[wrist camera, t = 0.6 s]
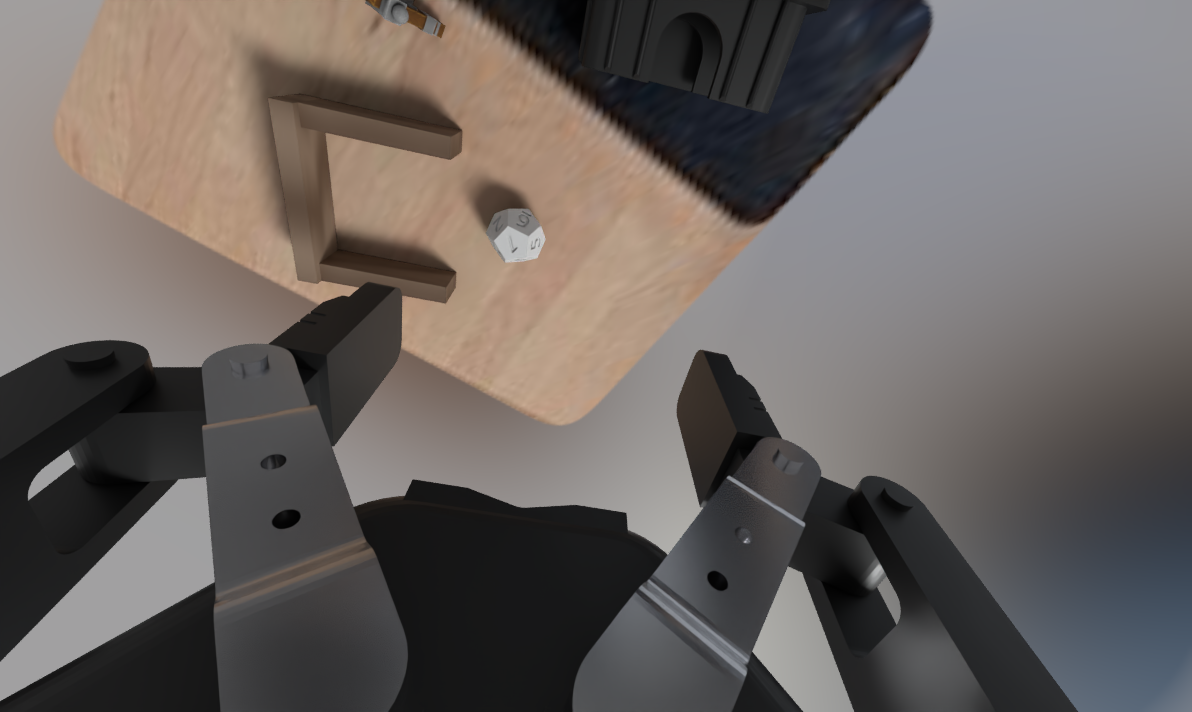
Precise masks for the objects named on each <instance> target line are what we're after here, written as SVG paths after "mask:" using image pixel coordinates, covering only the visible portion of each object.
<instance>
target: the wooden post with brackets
mask: <svg viewBox="0 0 1192 712" xmlns="http://www.w3.org/2000/svg"><path fill="white" fill-rule="evenodd" d="M365 3H366V4H367V5H369V6H371V7H372V8H373V9H374V10H376V11H377V12H378V13H379V14H381V15H382V16H383V18H384V19H385V20H388V21H390V22H392V23H395V24H397V25H399V26H401V24H405V23H406V22H408V23H411V24H413V25H415V26H417V27H418V28H419V29H421V30H422V31H423V32H426V33H428V34H430V35H433V34H434V35H435V36H438V37H440V38H441V37H442V34H443V31H444V28H445V25H443V24H442V23H441V22H439V21H438V20H436V19H434V18H433V17H431V16H430V15H429V14H427V13H425V12H423V11H421V10H419V9H418V11H417V7H415V6H413V3H414V0H366V2H365Z"/></svg>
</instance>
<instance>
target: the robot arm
mask: <svg viewBox="0 0 1192 712" xmlns="http://www.w3.org/2000/svg"><path fill="white" fill-rule="evenodd" d="M401 341H402V293H401V290H400V288H398V287H393V286H388V285H383V284H378V283H373V282H367V283H365V284H364V285H363V286H361V287H360V288H359V289H358V290H357V291H355V292H354V293H353V294H352V295H351V296H349V297H348V296H340V297H337V298H334V299H331V300H328V301H325V302H323V303H322V304H320V305H319V306H318V307H317V308H315V309H314V310H312V311H311V314H307V315H306V316H305V317H303V318H302V319H301V320H300V322H297V323H295V324H294V325H293V326H291V327H290V328H289V329H287V330H286V331H285V332H284V333H282V334H281V335H280V336H278V337H277V338H276V339H274V340H273V341H272V342H270V343H269V344H245V345H238V346H233V347H230V348H226V349H223V350H221V351H218V352H216V353H214V354H212V355H211V356H209V357H208V358H207V359H206V360H205V361H204V363H203V365H202V367H159V368H158V367H153V366H152V363H151V359H150V356H149V353H148V351H147V349H145V348H144V347H143V346H141V345H138V344H136V343H132V342H127V341H114V340H106V341H91V342H84V343H79V344H74V345H69V346H66V347H63V348H59V349H56V350H53V351H51V352H49V353H47V354H44V355H42V356H40V357H39V358H36V359H35V360H33V361H31V362H29V363H27V364H25V365H23V366H21V367H19V368H17V369H15V370H13V371H11V372H10V373H7V374H6V375H4V376H2V377H0V661H1V660H2V659H3V658H4V657H5V656H6V655H7V654H8V653H9V652H10V651H11V650H12V649H13V648H14V647H15V646H16V645H17V644H18V643H19V642H20V641H21V640H22V639H23V638H24V637H25V636H26V635H27V634H28V633H29V632H30V631H31V630H32V629H33V628H34V627H35V626H36V625H37V624H38V622H40V621H41V619H42V618H43V617H44V616H45V615H46V614H47V613H48V612H49V611H50V610H51V609H52V608H53V607H54V606H55V605H56V604H57V603H58V602H59V601H60V600H61V599H62V598H63V597H64V596H65V595H66V594H67V593H68V592H69V591H70V590H71V589H72V588H73V587H74V586H75V585H76V584H77V583H78V582H79V581H80V580H81V578H83V577H84V576H85V574H87V573H88V571H89V570H90V569H91V568H92V567H93V566H94V565H95V564H96V563H97V562H98V561H99V560H100V559H101V558H102V557H103V556H104V555H105V554H106V553H107V552H108V551H109V550H110V549H111V548H112V547H113V546H114V545H115V544H116V543H117V542H118V541H119V540H120V539H121V538H122V537H123V536H124V535H125V534H126V533H127V532H128V531H129V529H131V528H132V527H133V526H134V524H136V522H137V521H138V520H139V519H140V518H141V517H142V516H143V515H144V514H145V513H146V512H147V511H148V510H149V509H150V508H151V507H152V506H153V505H154V504H155V503H156V502H157V501H158V500H159V499H160V498H161V497H162V496H163V495H164V494H165V493H166V492H167V491H168V490H169V489H170V488H171V487H172V485H174V484H175V483H176V482H177V480H178V479H187V478H200V477H206V480H207V492H208V504H209V515H210V516H209V517H210V529H211V541H212V553H213V565H214V577H215V582H214V583H212V584H210V585H209V586H207V587H205V588H203V589H201V590H200V591H198V592H196V593H194V594H192V595H191V596H189V597H187V598H185V599H184V600H182V601H180V602H178V603H176V604H174V605H173V606H171V607H169V608H167V609H165V610H164V611H162V612H160V613H158V614H156V615H155V616H153V617H151V618H149V619H147V620H146V621H144V622H142V623H140V624H139V625H137V626H135V627H133V628H131V629H129V630H128V631H126V632H124V633H122V634H121V635H119V636H117V637H115V638H113V639H111V640H110V641H108V642H106V643H104V644H102V645H101V646H99V647H97V648H95V649H93V650H92V651H90V652H88V653H86V654H84V655H83V656H81V657H79V658H77V659H75V660H74V661H72V662H70V663H68V664H67V665H65V666H63V667H61V668H59V669H57V670H56V671H54V672H52V673H50V674H48V675H47V676H45V677H43V678H41V679H39V680H38V681H36V682H34V683H32V684H30V685H29V686H27V687H25V688H23V689H21V690H20V691H18V692H16V693H14V694H12V695H11V696H9V697H7V698H5V699H3V700H2V701H0V712H803V711H802V710H801V708H799V706H798V705H797V704H796V703H795V702H794V700H793V699H792V698H791V697H790V696H789V694H788V693H787V692H786V691H785V690H784V689H783V687H782V686H781V685H780V684H779V683H778V682H777V681H776V679H775V678H774V677H773V676H772V674H771V673H770V672H769V671H768V670H767V669H766V667H765V666H764V665H763V664H762V663H761V662H760V660H759V659H758V658H757V657H756V656H755V655H754V653H753V652H752V650H753V648H754V646H755V643H756V641H757V639H758V636H759V634H760V631H761V629H762V627H763V624H764V622H765V620H766V617H767V615H768V612H769V610H770V608H771V605H772V603H773V601H774V598H775V596H776V593H777V591H778V588H779V586H780V584H781V582H782V579H783V577H784V574H785V572H786V570H787V567H788V566H789V567H791V568H793V569H796V570H798V571H800V572H802V573H803V576H804V579H805V582H806V584H807V587H808V590H809V592H810V594H811V597H812V600H813V603H814V605H815V608H816V611H817V614H818V616H819V619H820V622H821V624H822V627H823V630H824V632H825V635H826V638H827V640H828V643H829V646H830V648H831V651H832V654H833V656H834V659H835V662H836V664H837V667H838V670H839V672H840V675H841V678H842V680H843V683H844V685H845V688H846V691H847V693H848V696H849V699H850V701H851V704H852V707H853V709H854V712H1078V711H1077V710H1076V708H1075V707H1074V706H1073V704H1072V703H1071V702H1070V700H1069V699H1068V698H1067V696H1066V695H1065V693H1064V692H1063V691H1062V689H1061V688H1060V687H1059V685H1058V684H1057V683H1056V681H1055V680H1054V679H1053V677H1052V676H1051V675H1050V673H1049V672H1048V671H1047V669H1046V668H1045V667H1044V665H1043V664H1042V663H1041V661H1040V660H1039V658H1038V657H1037V656H1036V655H1035V653H1034V652H1033V651H1032V649H1031V648H1030V647H1029V645H1028V644H1027V642H1026V641H1025V640H1024V638H1023V637H1022V636H1021V634H1020V633H1019V632H1018V630H1017V629H1016V628H1015V626H1014V625H1013V624H1012V622H1011V621H1010V619H1009V618H1008V617H1007V615H1006V614H1005V613H1004V611H1003V610H1002V609H1001V607H1000V606H999V605H998V603H997V602H996V601H995V599H994V598H993V597H992V595H991V594H990V593H989V591H988V590H987V588H986V587H985V586H984V584H983V583H982V582H981V580H980V579H979V578H978V576H977V575H976V574H975V572H974V571H973V570H972V568H971V567H970V566H969V564H968V563H967V562H966V560H965V559H964V558H963V556H962V555H961V553H960V552H959V551H958V550H957V548H956V547H955V546H954V544H953V543H952V541H951V540H950V539H949V538H948V536H947V535H946V533H945V532H944V531H943V529H942V528H941V527H940V526H939V524H938V523H937V522H936V520H935V518H934V517H933V516H932V514H931V513H930V512H929V510H928V509H927V508H926V507H925V505H924V504H923V503H922V502H921V501H920V500H919V499H918V498H917V497H916V496H915V495H913V494H912V493H911V492H909V491H908V490H906V489H905V488H904V487H902V486H900V485H898V484H897V483H895V482H892V481H890V480H888V479H885V478H882V477H877V476H867V477H864V478H863V479H862V480H861V481H860V483H859V484H858V485H857V487H856V488H855V489H854V490H853V489H851V488H848V487H846V486H843V485H841V484H838V483H836V482H833V481H830V480H828V479H826V478H823V477H821V469H820V467H819V465H818V463H817V462H816V460H815V459H814V458H813V457H812V456H811V455H810V454H809V453H808V452H807V451H805V450H804V449H802V448H801V447H799V446H797V445H796V444H794V443H792V442H789V441H787V440H784V439H782V438H781V436H780V434H779V432H778V430H777V428H776V426H775V425H774V423H773V421H772V419H771V417H770V415H769V414H768V412H766V408H765V406H764V404H763V403H762V402H760V400H761V399H760V397H759V395H758V394H757V392H756V390H755V388H754V387H753V386H752V385H751V384H750V383H749V382H748V381H747V380H746V379H745V378H744V377H743V376H741V375H737V374H736V372H735V370H734V368H733V366H732V364H731V362H730V360H729V358H728V356H727V355H724V354H719V353H714V352H709V351H704V350H699V351H698V352H697V353H696V355H695V357H694V359H693V362H692V365H691V367H690V369H689V372H688V375H687V377H686V380H685V382H684V385H683V387H682V391H681V393H680V395H679V399H678V403H677V418H678V422H679V426H680V430H681V434H682V438H683V442H684V446H685V450H686V454H687V458H688V461H689V465H690V469H691V473H692V477H693V481H694V485H695V489H696V493H697V497H698V501H699V505H700V507H703V509H702V511H701V512H700V513H699V515H698V516H697V517H696V519H695V520H694V521H693V523H692V524H691V525H690V526H689V528H688V529H687V531H686V532H685V533H684V534H683V536H682V537H681V538H680V540H679V541H678V542H677V544H676V545H675V546H674V548H673V549H672V550H671V551H670V553H669V554H668V555H667V554H666V553H665V552H664V551H663V550H661V549H660V548H659V547H658V546H656V545H655V544H653V543H652V542H650V541H649V540H647V539H645V538H644V537H642V536H640V535H638V534H635V533H633V532H631V531H628V529H627V515H626V513H623V512H617V511H611V510H605V509H598V508H591V507H586V506H579V505H569V506H568V505H567V506H551V507H532V508H520V507H516V506H513V505H510V504H508V503H505V502H503V501H500V500H497V499H495V498H492V497H490V496H487V495H484V494H482V493H479V492H477V491H474V490H471V489H469V488H464V487H458V486H452V485H445V484H439V483H433V482H426V481H420V480H412V482H411V484H410V486H409V489H408V491H407V493H406V495H405V496H398V497H391V498H384V499H379V500H375V501H371V502H367V503H364V504H361V505H358V506H355V507H353V504H352V502H351V499H350V496H349V493H348V490H347V488H346V485H345V483H344V480H343V477H342V474H341V471H340V469H339V465H338V463H337V460H336V457H335V454H334V452H333V449H332V446H335V444H336V443H337V442H338V440H339V439H340V438H341V436H342V435H343V434H344V432H345V431H346V430H347V428H348V427H349V426H350V424H351V423H352V421H353V420H354V419H355V417H356V416H357V415H358V413H359V412H360V411H361V409H362V408H363V407H364V405H365V404H366V402H367V401H368V400H369V399H370V397H371V396H372V395H373V393H374V392H375V390H376V389H377V388H378V386H379V385H380V384H381V382H382V381H383V380H384V378H385V377H386V375H387V374H388V373H389V372H390V370H391V369H392V368H393V366H394V365H395V363H396V361H397V359H398V357H399V353H400V349H401ZM67 450H69V452H70V454H71V456H72V458H73V460H74V463H75V465H74V466H72V467H71V468H70V469H69V470H67V471H66V472H65V473H63V474H62V475H61V476H60V477H58V478H57V479H56V480H54V481H53V482H52V483H51V484H49V485H48V486H47V487H45V488H44V489H43V490H41V491H40V492H39V493H38V494H36V495H35V496H34V497H32V498H31V499H30V500H29V501H28V490H29V487H30V485H31V482H32V481H33V479H34V478H35V476H36V475H37V474H38V473H39V472H40V471H41V470H42V469H43V468H44V467H45V466H47V465H48V464H49V463H50V462H52V461H53V460H55V459H56V458H57V457H59V456H60V455H62V454H63V453H64V452H66V451H67ZM886 576H887V577H888V579H889V581H890V583H891V585H892V586H893V588H894V590H895V592H896V594H897V596H898V598H899V601H900V606H901V615H900V619H899V622H898V624H897V625H896V623H895V621H894V619H893V617H892V615H891V613H890V611H889V610H888V608H887V606H886V604H885V602H884V600H883V598H882V596H881V594H880V592H879V590H878V588H877V586H878V585H879V584H880V583H881V582H882V581H883V579H884V578H885V577H886Z"/></svg>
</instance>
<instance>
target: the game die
mask: <svg viewBox="0 0 1192 712" xmlns="http://www.w3.org/2000/svg"><path fill="white" fill-rule="evenodd" d="M486 234H487V236H488V238H489V240H490V242H491V244H492V246H493V247H494V249H495V250H496V251H497V253H498V254H499V256H500V257H501V258H502V260H503V261H504V262H519V261H527V260H531V259H536V258H537V257H538V255H539V253H540V251H541V248H542V246H543V244H544V242H545V236H544V233H543V230H542V227H541V225H540V224H539V222H538V221H537V220H536V218H535V217H534V216H533V214H532V213H531V211H530V210H529V209H506V210H503V211H500V212H497V213H495V214H494V216H493V218H492V220H491V223H490V225H489V227H488V229H487V232H486Z"/></svg>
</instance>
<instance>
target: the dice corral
mask: <svg viewBox="0 0 1192 712" xmlns="http://www.w3.org/2000/svg"><path fill="white" fill-rule="evenodd" d="M268 103H269V109H270V115H271V121H272V127H273V133H274V139H275V145H276V151H277V157H278V163H279V169H280V175H281V181H282V187H283V193H284V199H285V206H286V212H287V218H288V224H289V230H290V236H291V242H292V248H293V254H294V260H295V266H296V272H297V278H298V280H299V281H305V282H310V283H316V284H318V283H319V282H320V281H326V282H332V283H337V284H343V285H348V286H354V287H359V288H360V287H361V286H363V285H364V284H365V283H367V282H373V283H378V284H383V285H388V286H393V287H398V288H400V290H401V293H402V296H408V297H413V298H419V299H424V300H430V301H435V302H441V303H446V302H447V301H448V299H449V297H450V296H451V294H452V293H453V291H454V289H455V288H456V272H452V271H447V270H441V269H436V268H431V267H426V266H421V265H415V264H410V263H405V262H400V261H394V260H389V259H384V258H379V257H374V256H368V255H363V254H358V253H353V252H348V251H342V250H338V246H337V237H336V228H335V219H334V209H333V200H332V191H331V182H330V172H329V163H328V154H327V145H326V135H325V133H330V134H334V135H339V136H343V137H348V138H353V139H357V140H362V141H366V142H371V143H375V144H380V145H384V146H389V147H394V148H398V149H403V150H407V151H412V152H416V153H421V154H426V155H430V156H435V157H439V158H444V159H448V160H451V159H452V158H454V157H455V156H457V155H458V154H459V153H461V150H462V131H461V130H457V129H453V128H448V127H444V126H439V125H435V124H431V123H426V122H422V121H417V120H413V119H409V118H404V117H400V116H395V115H391V114H387V113H382V112H378V111H373V110H369V109H365V108H360V107H356V106H351V105H347V104H342V103H338V102H334V101H329V100H325V99H320V98H316V97H312V96H307V95H303V94H294V95H286V96H278V97H270V98H268Z"/></svg>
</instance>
